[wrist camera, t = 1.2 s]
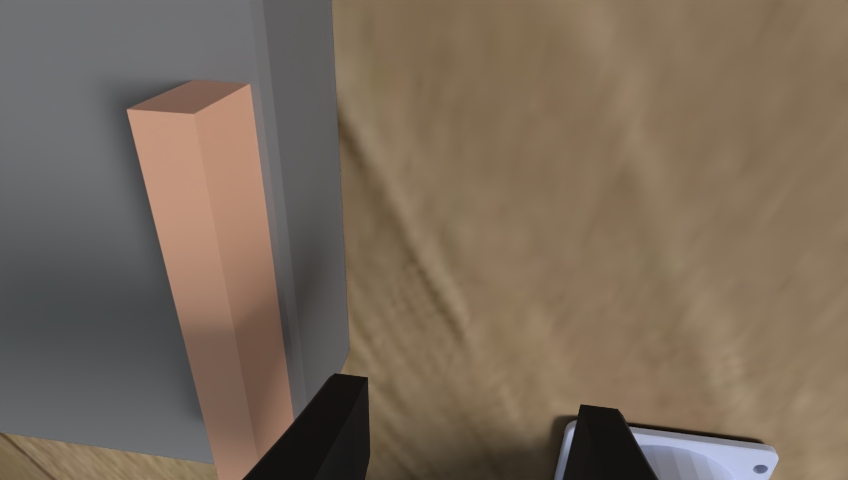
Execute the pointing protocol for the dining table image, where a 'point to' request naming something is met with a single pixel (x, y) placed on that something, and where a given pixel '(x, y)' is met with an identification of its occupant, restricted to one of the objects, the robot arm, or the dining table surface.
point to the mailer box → (311, 178)
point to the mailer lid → (144, 231)
